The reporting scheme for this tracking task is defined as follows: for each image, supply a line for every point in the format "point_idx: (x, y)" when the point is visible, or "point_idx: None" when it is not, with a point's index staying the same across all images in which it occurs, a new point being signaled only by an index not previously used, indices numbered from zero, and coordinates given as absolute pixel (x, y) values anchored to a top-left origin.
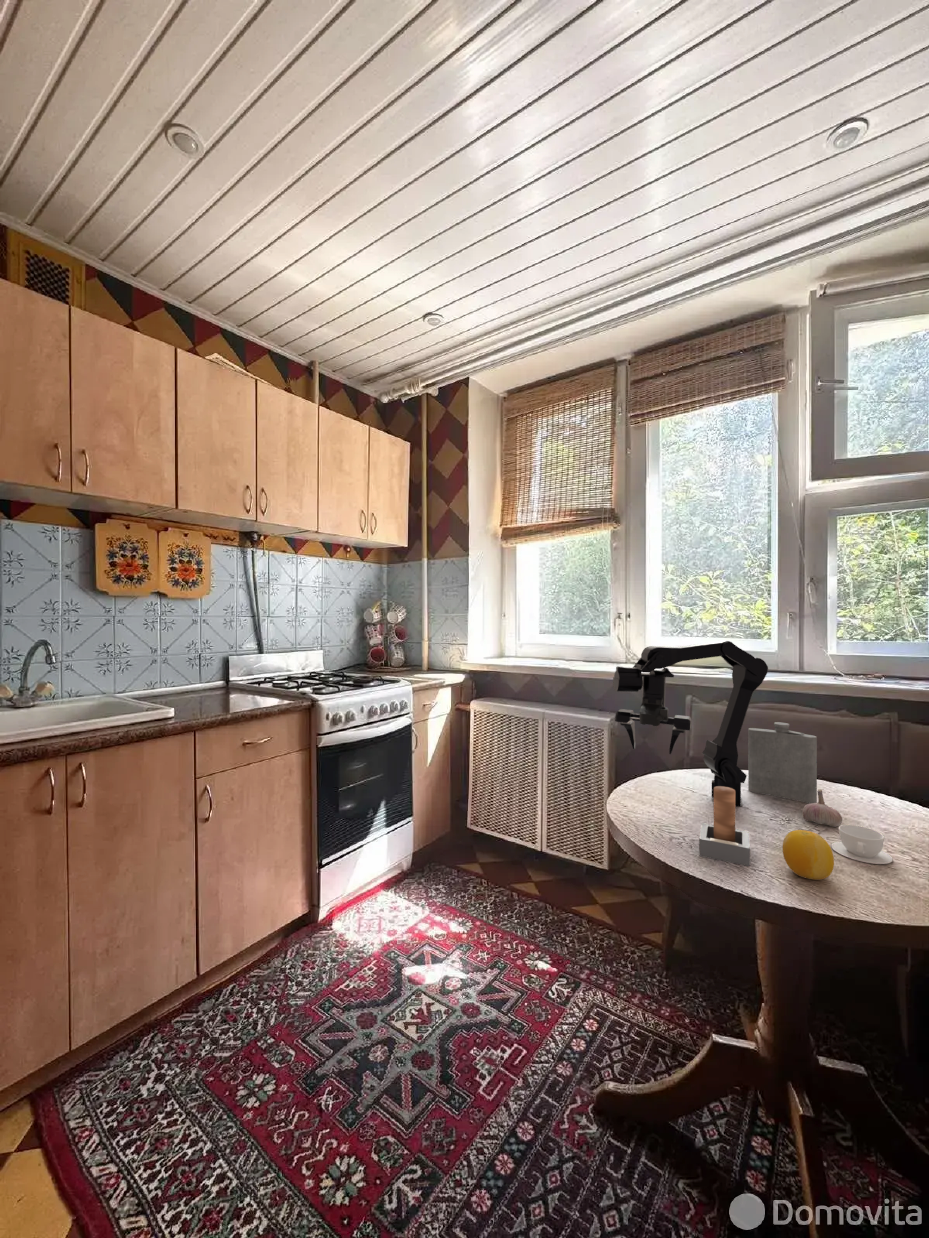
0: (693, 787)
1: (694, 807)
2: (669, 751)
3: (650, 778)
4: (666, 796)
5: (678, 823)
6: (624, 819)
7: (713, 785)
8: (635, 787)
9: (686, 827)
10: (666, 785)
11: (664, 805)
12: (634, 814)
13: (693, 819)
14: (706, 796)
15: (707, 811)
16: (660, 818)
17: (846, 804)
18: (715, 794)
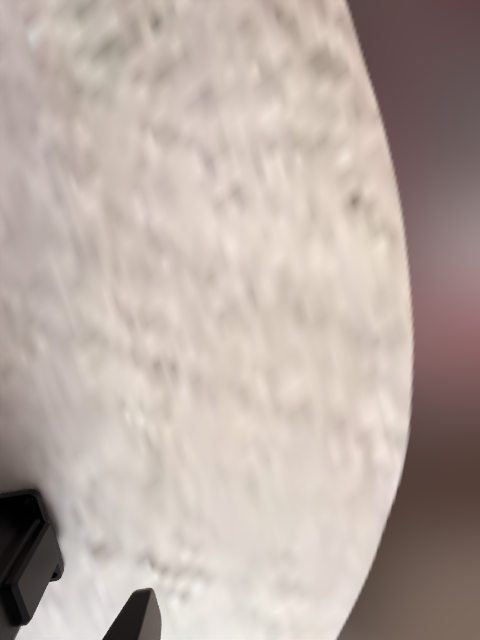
0: (165, 606)
1: (85, 385)
2: (143, 613)
3: (343, 605)
4: (227, 443)
5: (73, 128)
6: (310, 4)
7: (13, 572)
8: (372, 470)
9: (24, 97)
10: (264, 567)
11: (201, 328)
12: (286, 114)
13: (36, 230)
14: (88, 540)
15: (23, 371)
16: (165, 142)
17: None
18: None
